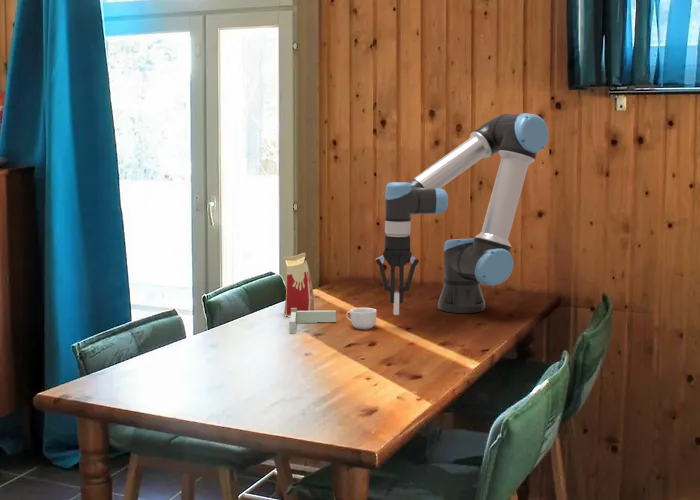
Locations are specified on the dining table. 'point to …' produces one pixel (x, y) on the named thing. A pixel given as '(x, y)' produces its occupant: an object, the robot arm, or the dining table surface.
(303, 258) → the milk carton
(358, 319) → the teacup
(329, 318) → the corner fence
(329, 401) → the dining table surface
